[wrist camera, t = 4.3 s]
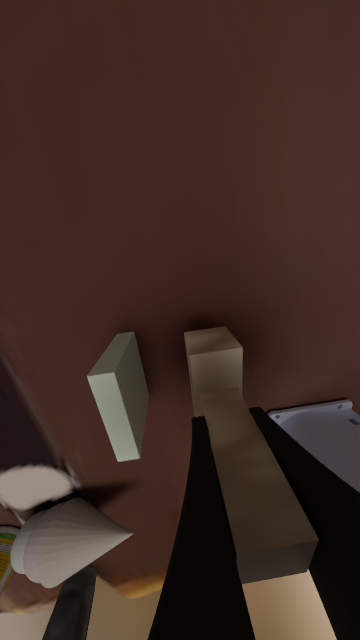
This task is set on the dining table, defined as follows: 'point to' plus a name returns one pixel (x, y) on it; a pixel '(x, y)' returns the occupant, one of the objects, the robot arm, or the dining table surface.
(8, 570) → the supplement bottle
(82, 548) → the ice cream cone
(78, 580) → the beverage cup
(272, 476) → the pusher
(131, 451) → the tile
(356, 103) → the dining table surface
